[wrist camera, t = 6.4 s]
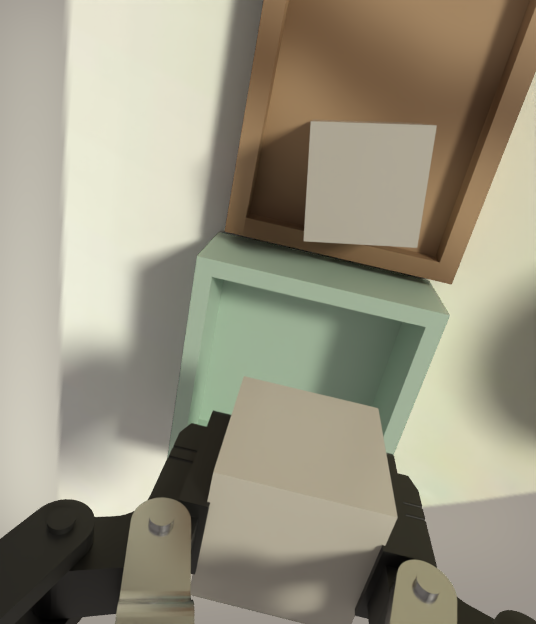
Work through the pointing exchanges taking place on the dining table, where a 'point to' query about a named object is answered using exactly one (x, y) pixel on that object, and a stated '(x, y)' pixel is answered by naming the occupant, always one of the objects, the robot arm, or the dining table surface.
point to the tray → (383, 111)
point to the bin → (304, 331)
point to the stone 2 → (367, 182)
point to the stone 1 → (296, 505)
